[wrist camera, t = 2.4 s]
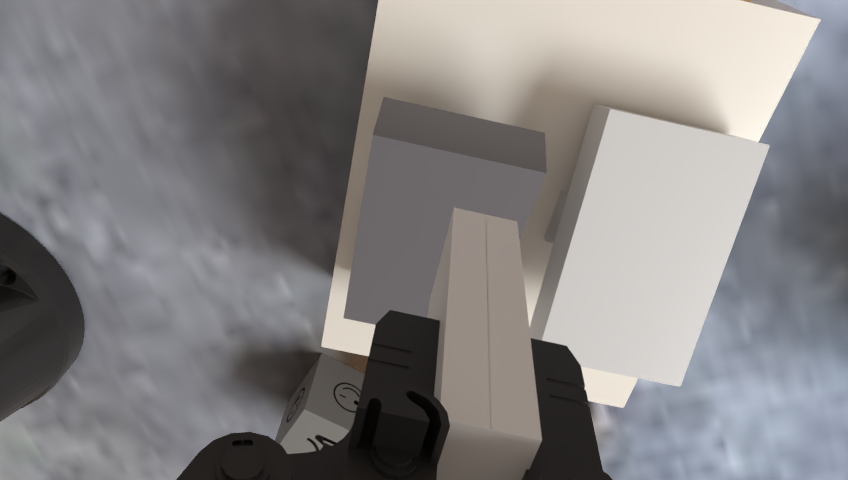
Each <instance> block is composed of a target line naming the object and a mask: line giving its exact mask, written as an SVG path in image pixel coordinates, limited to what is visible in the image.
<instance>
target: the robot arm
mask: <svg viewBox="0 0 848 480" xmlns="http://www.w3.org/2000/svg"><path fill="white" fill-rule="evenodd" d="M83 338H84V317H83V312H82V308H81V304H80V301H79V299H78V296H77V293H76V291H75V289H74V287H73V285H72V283H71V282H70V280H69V278H68V277H67V275H66V274H65V272H64V270H63V269H62V268H61V266H60V265H59V264H58V262H57V261H56V260H55V259H54V258H53V257H52V255H51V254H50V253H49V252H48V251H47V250H46V249H45V248H44V247H43V246H42V245H41V244H40V243H39V242H38V241H37V240H35V239H34V238H33V237H32V236H31V235H30V234H28V233H27V232H26V231H24V230H23V229H22V228H21V227H19V226H18V225H16V224H15V223H13V222H12V221H10V220H9V219H7V218H5V217H4V216H2V215H0V422H1V421H2V420H4V419H5V418H7V417H8V416H10V415H11V414H13V413H14V412H15V411H17V410H18V409H20V408H23V407H25V406H27V405H29V404H31V403H32V402H34V401H36V400H38V399H39V398H41V397H42V396H44V395H45V394H46V393H47V392H48V391H49V390H51V389H52V388H53V387H54V386H55V385H56V383H57V382H58V381H59V380H60V379H61V377H62V376H63V375H64V374H65V372H66V371H67V370H68V369H69V367H70V366H71V365H72V364H73V362H74V361H75V360H76V358H77V356H78V354H79V352H80V350H81V347H82V343H83ZM584 388H585V384H584V379H583V374H582V369H581V365H580V364H579V362H578V361H577V360H576V358H575V357H574V355H573V354H572V352H571V351H570V350H569V348H568V347H567V346H566V345H561V344H556V343H552V342H547V341H542V340H537V339H533V338H530V330H529V321H528V312H527V303H526V294H525V285H524V277H523V268H522V259H521V250H520V241H519V233H518V224H517V221H513V220H508V219H504V218H499V217H495V216H490V215H486V214H481V213H477V212H472V211H468V210H463V209H459V208H454V209H453V213H452V217H451V221H450V224H449V228H448V232H447V236H446V240H445V243H444V247H443V251H442V255H441V259H440V262H439V266H438V270H437V274H436V277H435V281H434V285H433V289H432V293H431V296H430V300H429V307H428V316H427V318H426V317H421V316H417V315H412V314H407V313H403V312H398V311H393V310H389V311H388V312H387V313H386V314H385V315H384V316H383V317H382V318H381V319H380V320H379V321H378V322H377V323H376V326H375V330H374V335H373V339H372V344H371V348H370V353H369V357H368V362H367V366H366V371H365V375H364V380H363V384H362V389H361V393H360V398H359V402H358V406H357V409H356V413H355V418H354V422H353V425H352V427H351V430H350V431H349V432H348V433H347V434H346V436H345V437H344V438H343V439H341V440H340V441H339V442H337V443H336V444H335V445H332V446H330V447H328V448H325V449H323V450H318V451H313V452H307V453H294V454H287V452H286V451H285V449H284V448H283V446H282V445H280V444H279V443H277V442H276V441H274V440H273V439H271V438H269V437H268V436H264V435H260V434H256V433H252V432H245V433H231V434H229V435H226V436H223V437H221V438H218V439H216V440H213V441H212V442H211V443H210V444H209V445H207V446H206V447H205V448H204V449H203V450H201V451H200V452H199V453H198V454H197V456H196V457H195V458H194V459H193V460H192V462H191V463H190V464H189V465H188V466H187V468H186V469H185V470H184V471H183V472H182V474H181V475H180V476H179V477H178V478H177V480H612V478H611V477H610V476H609V475H608V474H606V473H605V472H603V469H602V465H601V460H600V456H599V451H598V446H597V441H596V436H595V432H594V427H593V422H592V417H591V412H590V408H589V407H588V398H587V393H586V390H584Z"/></svg>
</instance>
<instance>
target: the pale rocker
mask: <svg viewBox="0 0 848 480" xmlns="http://www.w3.org/2000/svg"><path fill="white" fill-rule="evenodd" d="M769 146H770V145H767V144H763V143H760V142H756V141H752V140H749V139H745V138H741V137H737V136H733V135H729V134H724V133H720V132H715V131H711V130H707V129H702V128H698V127H693V126H689V125H685V124H680V123H676V122H671V121H667V120H663V119H658V118H654V117H649V116H645V115H641V114H636V113H632V112H627V111H623V110H619V109H614V108H610V107H605V106H601V105H597V104H594V105H593V109H592V112H591V115H590V119H589V122H588V126H587V129H586V133H585V136H584V140H583V143H582V147H581V150H580V154H579V157H578V161H577V164H576V167H575V171H574V174H573V178H572V181H571V185H570V188H569V192H568V195H567V199H566V202H565V206H564V209H563V213H562V216H561V219H560V223H559V226H558V230H557V233H556V237H555V240H554V244H553V247H552V251H551V254H550V258H549V261H548V265H547V268H546V271H545V275H544V278H543V282H542V285H541V289H540V292H539V296H538V299H537V303H536V306H535V310H534V313H533V317H532V320H531V324H530V327H529V330H530V338H533V339H537V340H542V341H547V342H552V343H556V344H561V345H566V346H567V347H568V348H569V350H570V351H571V352H572V354H573V355H574V357H575V358H576V360H577V361H578V362H579V364H580V365H581V367H586V368H590V369H595V370H600V371H605V372H610V373H615V374H620V375H624V376H629V377H634V378H639V379H644V380H649V381H654V382H659V383H663V384H668V385H673V386H678V387H680V386H681V384H682V381H683V378H684V375H685V373H686V370H687V367H688V365H689V362H690V359H691V357H692V354H693V351H694V349H695V346H696V343H697V340H698V338H699V335H700V332H701V330H702V327H703V324H704V322H705V319H706V316H707V314H708V311H709V308H710V305H711V303H712V300H713V297H714V295H715V292H716V289H717V287H718V284H719V281H720V278H721V276H722V273H723V270H724V268H725V265H726V262H727V260H728V257H729V254H730V252H731V249H732V246H733V243H734V241H735V238H736V235H737V233H738V230H739V227H740V225H741V222H742V219H743V217H744V214H745V211H746V208H747V206H748V203H749V200H750V198H751V195H752V192H753V190H754V187H755V184H756V182H757V179H758V176H759V173H760V171H761V168H762V165H763V163H764V160H765V157H766V155H767V152H768V149H769Z"/></svg>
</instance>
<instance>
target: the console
mask: <svg viewBox="0 0 848 480" xmlns="http://www.w3.org/2000/svg"><path fill="white" fill-rule="evenodd" d="M820 20H821V19H818V18H816V17H814V16H811V15H809V14H807V13H804V12H802V11H800V10H797V9H795V8H793V7H790V6H788V5H785V4H783V3H781V2H778V1H776V0H378V6H377V12H376V19H375V25H374V31H373V37H372V43H371V49H370V55H369V61H368V67H367V73H366V79H365V85H364V91H363V97H362V103H361V109H360V115H359V121H358V128H357V134H356V140H355V146H354V152H353V158H352V164H351V170H350V176H349V182H348V188H347V194H346V200H345V206H344V212H343V218H342V224H341V230H340V237H339V243H338V249H337V255H336V261H335V267H334V273H333V279H332V285H331V291H330V297H329V303H328V309H327V315H326V321H325V327H324V333H323V339H322V346H321V347H325V348H330V349H335V350H340V351H345V352H350V353H355V354H360V355H365V356H369V353H370V348H371V344H372V339H373V335H374V330H375V326H376V325H374V324H369V323H364V322H359V321H354V320H349V319H345V318H344V311H345V305H346V299H347V292H348V286H349V280H350V273H351V267H352V261H353V255H354V248H355V242H356V236H357V229H358V223H359V217H360V211H361V204H362V198H363V192H364V185H365V179H366V173H367V166H368V160H369V154H370V148H371V141H372V135H373V131H374V128H375V125H376V121H377V118H378V114H379V111H380V108H381V104H382V101H383V97H387V98H391V99H396V100H400V101H405V102H409V103H414V104H418V105H423V106H427V107H432V108H436V109H441V110H445V111H450V112H454V113H458V114H463V115H467V116H472V117H476V118H481V119H485V120H490V121H494V122H499V123H503V124H508V125H512V126H516V127H521V128H525V129H530V130H534V131H539V132H543V133H545V145H546V166H547V174H546V176H545V179H544V181H543V184H542V186H541V188H540V191H539V193H538V196H537V198H536V201H535V203H534V205H533V208H532V210H531V213H530V215H529V218H528V220H527V222H526V225H525V227H524V230H523V232H522V234H521V237H520V239H519V241H520V250H521V259H522V268H523V277H524V285H525V294H526V303H527V312H528V321H529V327H530V324H531V320H532V317H533V313H534V310H535V306H536V303H537V299H538V296H539V292H540V289H541V285H542V282H543V278H544V275H545V271H546V268H547V265H548V261H549V258H550V254H551V251H552V247H553V244H554V240H555V237H556V233H557V230H558V226H559V223H560V219H561V216H562V213H563V209H564V206H565V202H566V199H567V195H568V192H569V188H570V185H571V181H572V178H573V174H574V171H575V167H576V164H577V161H578V157H579V154H580V150H581V147H582V143H583V140H584V136H585V133H586V129H587V126H588V122H589V119H590V115H591V112H592V109H593V105H594V104H597V105H601V106H605V107H610V108H614V109H619V110H623V111H627V112H632V113H636V114H641V115H645V116H649V117H654V118H658V119H663V120H667V121H671V122H676V123H680V124H685V125H689V126H693V127H698V128H702V129H707V130H711V131H715V132H720V133H724V134H729V135H733V136H737V137H741V138H745V139H749V140H752V141H756V142H759V140H760V138H761V136H762V134H763V132H764V130H765V128H766V126H767V124H768V122H769V120H770V118H771V116H772V114H773V112H774V110H775V108H776V106H777V104H778V102H779V100H780V98H781V96H782V95H783V93H784V91H785V89H786V87H787V85H788V83H789V81H790V79H791V77H792V75H793V73H794V71H795V69H796V67H797V65H798V63H799V61H800V59H801V57H802V55H803V53H804V51H805V49H806V47H807V45H808V43H809V41H810V39H811V37H812V35H813V33H814V32H815V30H816V28H817V26H818V24H819V22H820ZM581 369H582V374H583V379H584V384H585V388H584V390H586V393H587V398H588V401H592V402H597V403H602V404H607V405H611V406H616V407H621V408H624V406H625V404H626V402H627V400H628V398H629V396H630V394H631V392H632V390H633V388H634V386H635V384H636V382H637V380H638V378H634V377H629V376H624V375H620V374H615V373H610V372H605V371H600V370H595V369H590V368H586V367H581Z"/></svg>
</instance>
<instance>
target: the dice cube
mask: <svg viewBox="0 0 848 480" xmlns="http://www.w3.org/2000/svg"><path fill="white" fill-rule="evenodd" d="M364 375H365V374H363V373H361V372H359V371H357V370H355V369H353V368H351V367H349V366H347V365H345V364H343V363H341V362H339V361H337V360H335V359H333V358H331V357H329V356H327V355H325V354H323V353H321V355H320V356H319V358H318V359H317V360H316V362H315V363H314V365H313V366H312V368H311V369H310V371H309V372H308V374H307V375H306V376H305V378H304V379H303V381H302V382H301V384H300V385H299V387H298V388H297V389H296V391H295V392H294V394H293V395H292V397H291V398H290V400H289V401H288V404H287V407H286V410H285V413H284V416H283V419H282V422H281V424H280V427H279V430H278V433H277V436H276V439H275V441H276V442H277V443H279V444H280V445H282V446H283V448H284V449H285V451H286V452H287V454H294V453H307V452H313V451H318V450H323V449H325V448H328V447H330V446H332V445H335V444H336V443H337V442H339V441H340V440H341V439H343V438H344V437H345V436H346V434H347V433H348V432H349V431H350V430H351V427H352V425H353V422H354V418H355V413H356V409H357V406H358V402H359V398H360V393H361V389H362V384H363V380H364Z"/></svg>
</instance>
